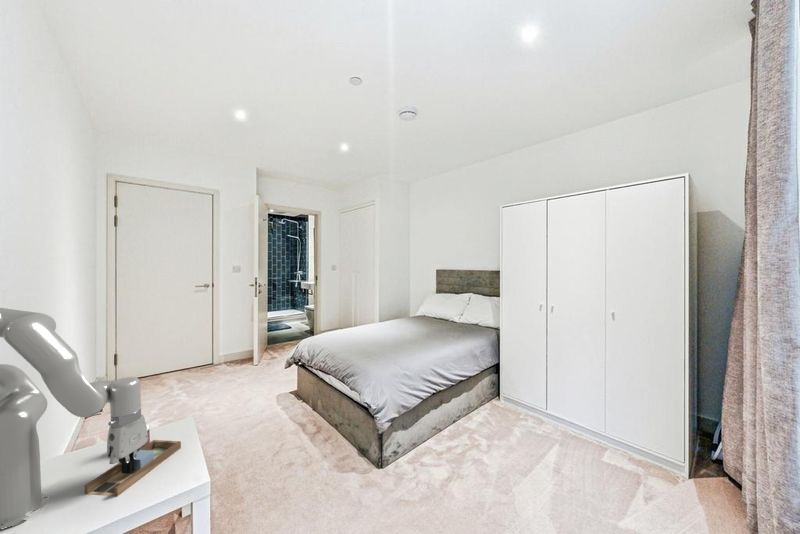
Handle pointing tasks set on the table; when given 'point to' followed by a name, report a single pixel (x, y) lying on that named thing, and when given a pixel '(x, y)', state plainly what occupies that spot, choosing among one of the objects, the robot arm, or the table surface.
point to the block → (143, 458)
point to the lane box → (118, 482)
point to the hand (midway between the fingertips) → (128, 471)
